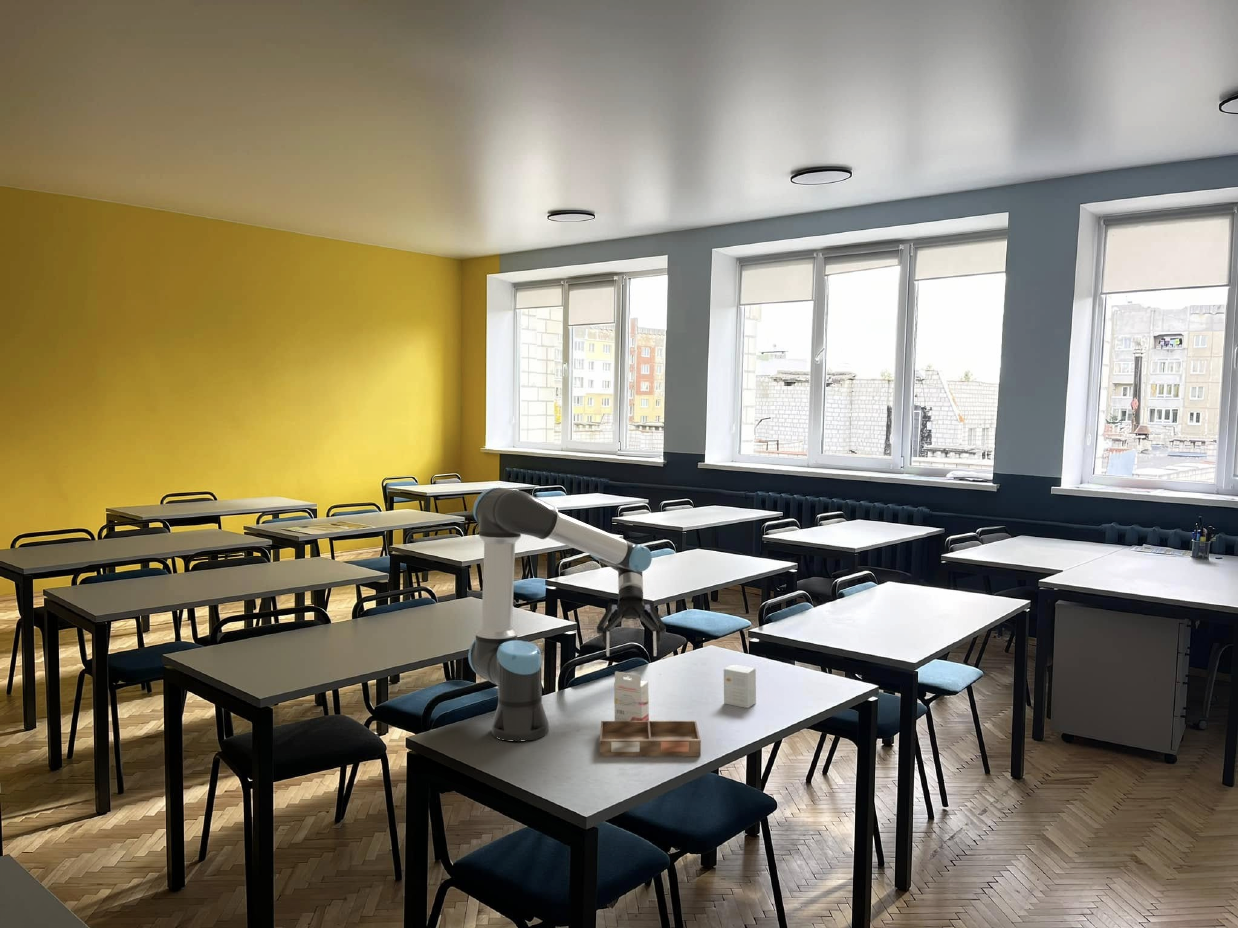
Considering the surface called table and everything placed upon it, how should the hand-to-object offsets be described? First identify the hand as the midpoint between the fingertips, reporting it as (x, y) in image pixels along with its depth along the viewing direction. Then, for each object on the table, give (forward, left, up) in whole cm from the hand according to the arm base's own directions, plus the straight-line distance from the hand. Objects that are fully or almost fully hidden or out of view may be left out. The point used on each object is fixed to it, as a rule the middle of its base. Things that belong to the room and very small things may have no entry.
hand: (631, 653), depth 241 cm
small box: (+32, +6, -17) cm, 36 cm away
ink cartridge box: (0, -10, -17) cm, 20 cm away
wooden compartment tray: (+4, -26, -16) cm, 31 cm away
